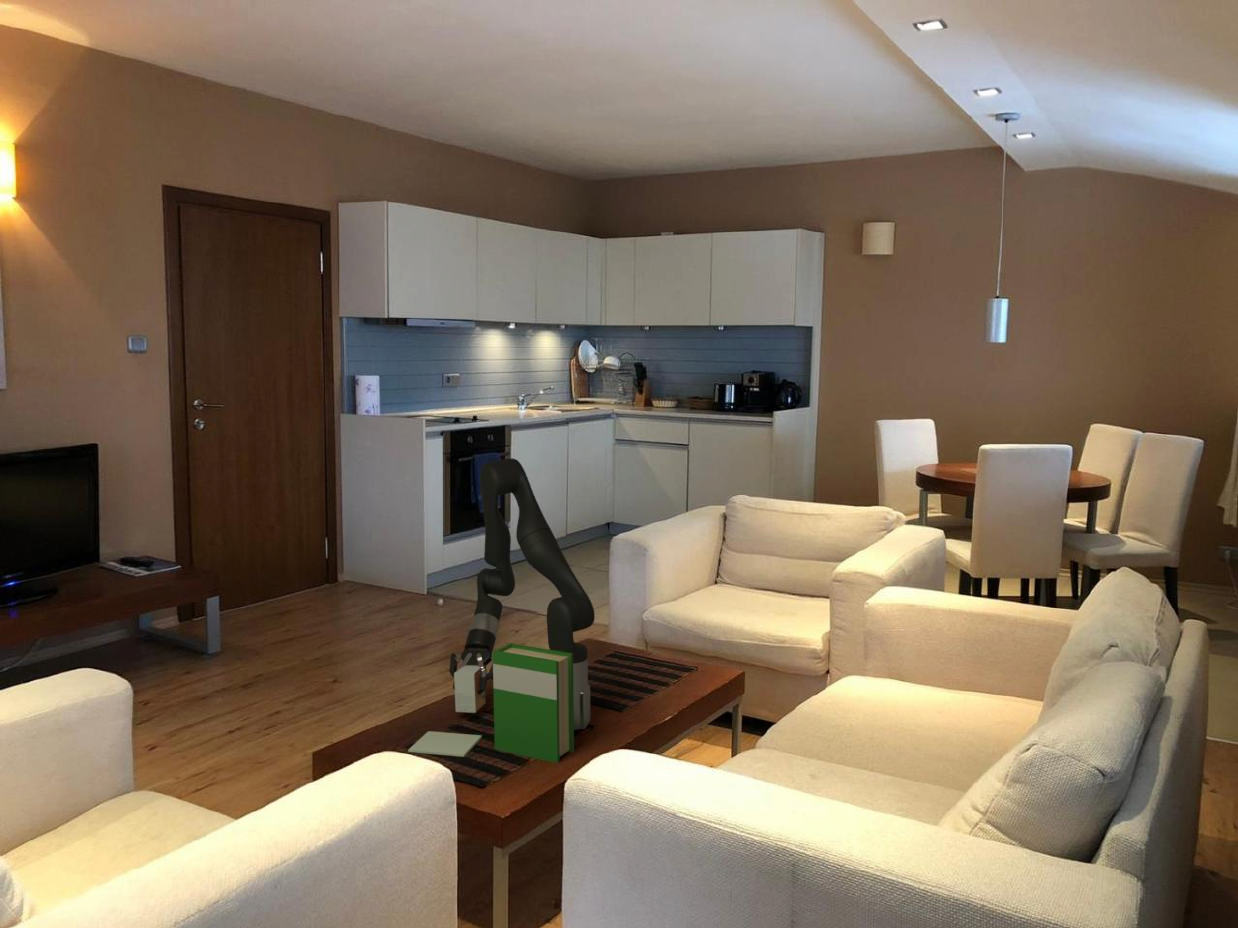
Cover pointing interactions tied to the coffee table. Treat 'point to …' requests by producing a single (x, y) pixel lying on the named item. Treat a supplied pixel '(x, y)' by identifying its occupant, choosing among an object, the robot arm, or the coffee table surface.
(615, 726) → the coffee table surface
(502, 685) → the hardback book
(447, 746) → the sage mat
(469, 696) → the small box
